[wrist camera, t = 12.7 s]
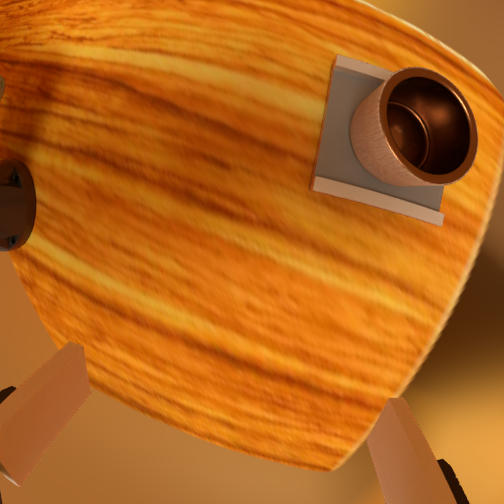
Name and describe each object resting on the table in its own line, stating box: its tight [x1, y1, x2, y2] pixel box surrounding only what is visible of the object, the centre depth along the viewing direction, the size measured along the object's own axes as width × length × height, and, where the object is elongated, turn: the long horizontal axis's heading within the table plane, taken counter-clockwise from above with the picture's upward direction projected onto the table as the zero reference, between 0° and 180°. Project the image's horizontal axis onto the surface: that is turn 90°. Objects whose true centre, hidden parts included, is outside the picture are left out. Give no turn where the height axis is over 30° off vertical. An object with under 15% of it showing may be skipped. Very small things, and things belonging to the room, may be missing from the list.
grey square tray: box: [309, 54, 444, 227], centre depth 29 cm, size 16×16×3 cm
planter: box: [350, 67, 478, 186], centre depth 24 cm, size 11×11×10 cm
